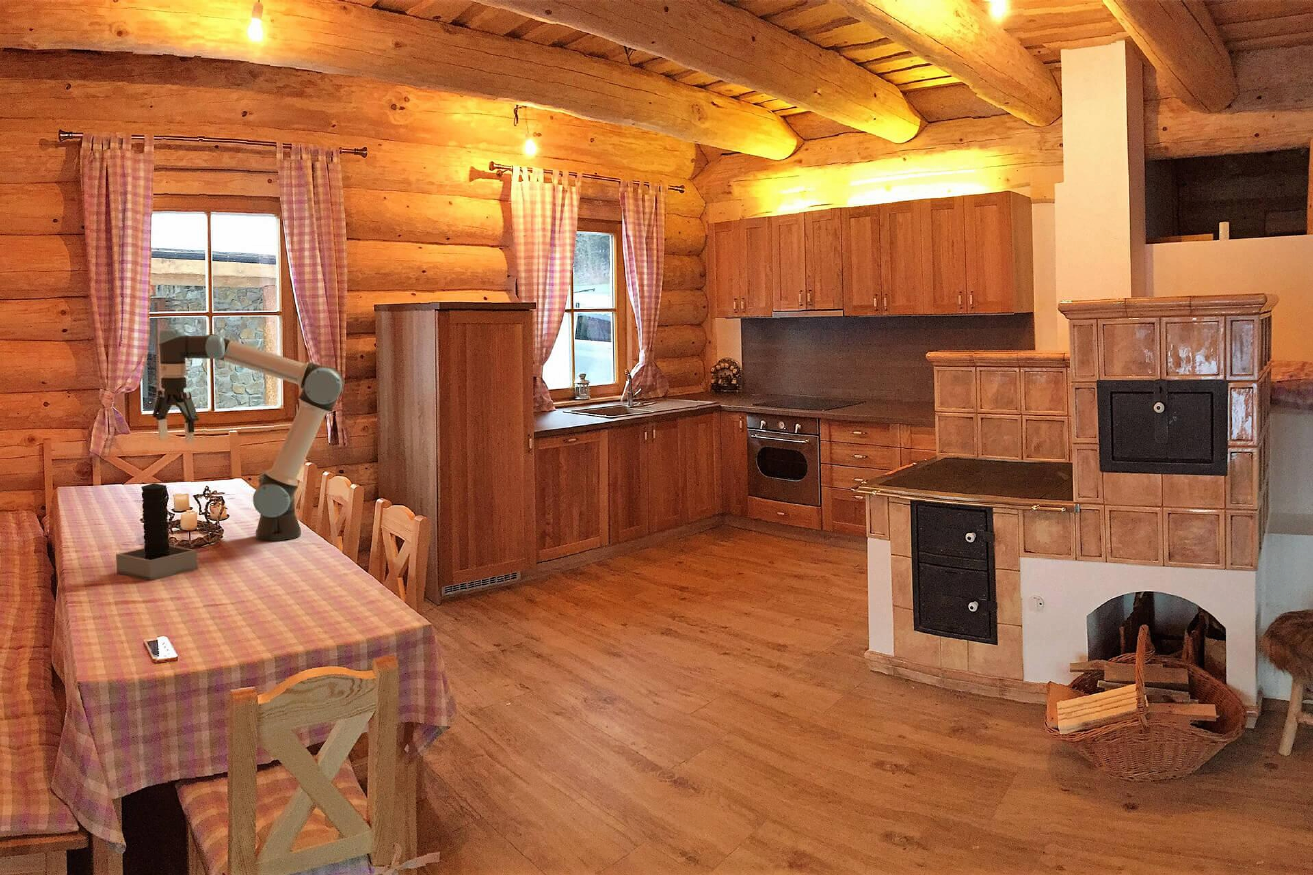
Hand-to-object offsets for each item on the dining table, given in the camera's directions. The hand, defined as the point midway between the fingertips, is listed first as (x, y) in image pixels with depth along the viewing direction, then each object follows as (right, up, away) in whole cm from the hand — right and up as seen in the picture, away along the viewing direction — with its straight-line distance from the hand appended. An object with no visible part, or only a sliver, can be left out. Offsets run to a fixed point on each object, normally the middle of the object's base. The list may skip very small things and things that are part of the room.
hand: (176, 440), depth 334 cm
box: (+5, -40, -24) cm, 47 cm away
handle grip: (+5, -39, -24) cm, 46 cm away
